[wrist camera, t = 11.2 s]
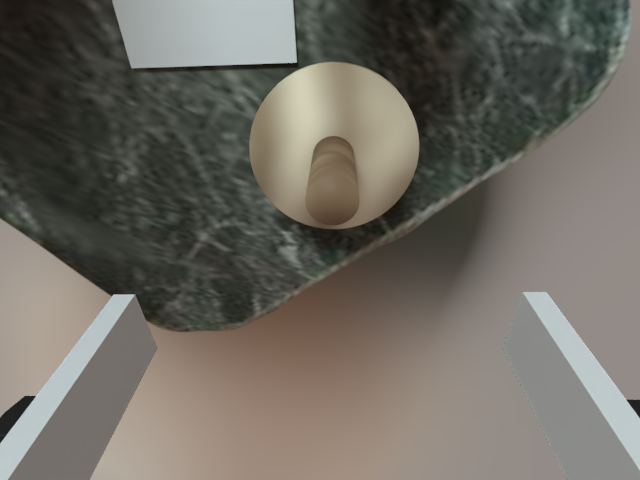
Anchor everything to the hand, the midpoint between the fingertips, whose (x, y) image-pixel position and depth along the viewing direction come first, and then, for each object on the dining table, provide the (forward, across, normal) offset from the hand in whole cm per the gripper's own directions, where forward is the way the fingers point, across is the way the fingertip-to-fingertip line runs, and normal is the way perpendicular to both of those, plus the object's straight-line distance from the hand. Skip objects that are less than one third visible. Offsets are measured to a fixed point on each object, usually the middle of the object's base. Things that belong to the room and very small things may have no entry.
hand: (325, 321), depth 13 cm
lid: (+19, 0, 0) cm, 19 cm away
